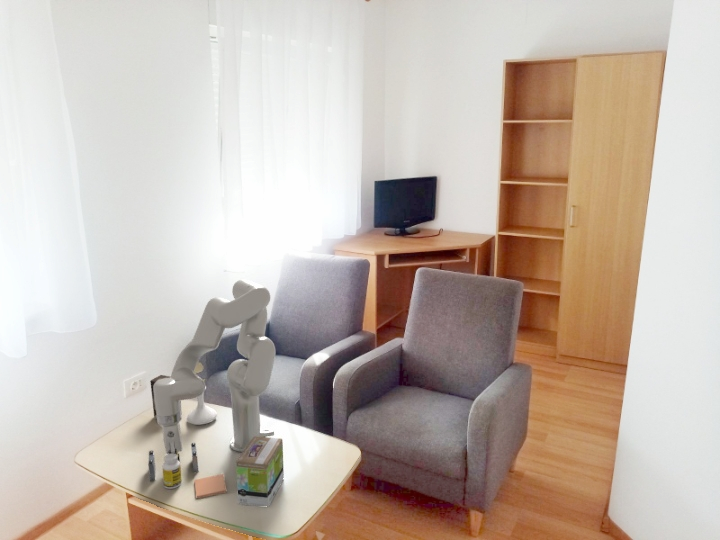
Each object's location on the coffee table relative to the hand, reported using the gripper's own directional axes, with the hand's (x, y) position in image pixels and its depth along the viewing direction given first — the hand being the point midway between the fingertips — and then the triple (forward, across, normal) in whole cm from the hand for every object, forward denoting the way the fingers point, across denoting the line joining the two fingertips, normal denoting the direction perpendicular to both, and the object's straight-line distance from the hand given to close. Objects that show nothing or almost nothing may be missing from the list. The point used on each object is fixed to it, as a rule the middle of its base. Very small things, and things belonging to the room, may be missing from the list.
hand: (175, 466), depth 181 cm
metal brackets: (+2, +1, 0) cm, 2 cm away
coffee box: (+2, +41, +2) cm, 41 cm away
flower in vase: (+2, +33, -10) cm, 35 cm away
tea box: (+2, -21, -25) cm, 33 cm away
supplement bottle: (+2, -7, +1) cm, 8 cm away
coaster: (+2, -13, -10) cm, 17 cm away
